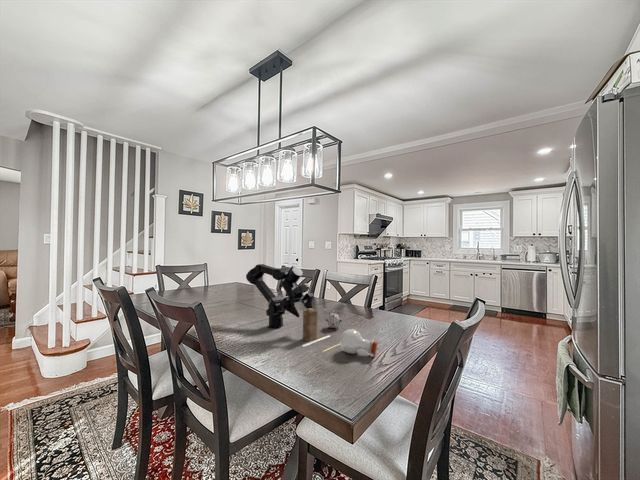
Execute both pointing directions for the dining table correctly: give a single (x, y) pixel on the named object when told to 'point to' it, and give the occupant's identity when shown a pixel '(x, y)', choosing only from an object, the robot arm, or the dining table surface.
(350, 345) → the potion bottle
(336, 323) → the game die
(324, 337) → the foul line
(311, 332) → the walnut block
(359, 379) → the dining table surface
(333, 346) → the strip
